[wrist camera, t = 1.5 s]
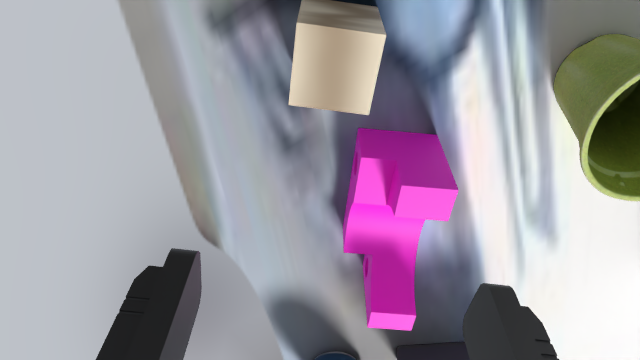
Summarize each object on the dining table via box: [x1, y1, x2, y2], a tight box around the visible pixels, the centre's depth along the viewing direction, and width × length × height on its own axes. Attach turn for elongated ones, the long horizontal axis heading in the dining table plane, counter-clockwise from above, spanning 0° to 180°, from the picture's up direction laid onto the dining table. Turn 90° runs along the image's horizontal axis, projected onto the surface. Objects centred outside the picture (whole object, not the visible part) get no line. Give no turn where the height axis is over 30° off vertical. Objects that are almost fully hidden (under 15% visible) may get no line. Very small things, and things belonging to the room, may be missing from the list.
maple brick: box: [289, 0, 386, 115], centre depth 28 cm, size 5×5×6 cm
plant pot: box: [554, 34, 640, 201], centre depth 28 cm, size 9×9×9 cm
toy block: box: [343, 128, 458, 331], centre depth 36 cm, size 15×6×8 cm, turn 175°
